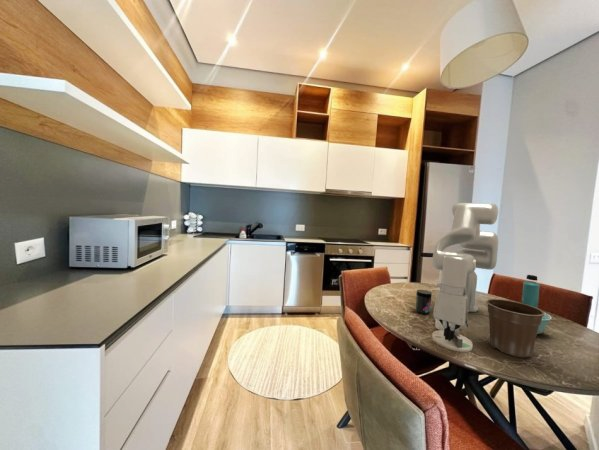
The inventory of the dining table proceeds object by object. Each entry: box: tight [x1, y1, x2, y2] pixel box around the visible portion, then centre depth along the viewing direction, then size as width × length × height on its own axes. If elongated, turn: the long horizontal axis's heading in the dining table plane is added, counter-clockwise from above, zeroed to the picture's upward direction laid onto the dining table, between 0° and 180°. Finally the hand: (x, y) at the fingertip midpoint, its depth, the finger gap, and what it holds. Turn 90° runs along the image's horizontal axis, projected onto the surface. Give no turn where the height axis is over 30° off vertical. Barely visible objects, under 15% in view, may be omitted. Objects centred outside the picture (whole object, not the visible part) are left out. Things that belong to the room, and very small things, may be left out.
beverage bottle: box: [521, 274, 541, 309], centre depth 129 cm, size 6×7×20 cm
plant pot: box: [485, 298, 546, 359], centre depth 92 cm, size 16×16×16 cm
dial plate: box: [432, 329, 473, 353], centre depth 95 cm, size 13×13×2 cm
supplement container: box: [414, 289, 433, 316], centre depth 123 cm, size 7×7×10 cm
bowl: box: [537, 312, 552, 335], centre depth 109 cm, size 16×16×8 cm
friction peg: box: [449, 326, 463, 348], centre depth 92 cm, size 10×4×4 cm, turn 167°
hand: (448, 339), depth 91 cm, fingers closed
